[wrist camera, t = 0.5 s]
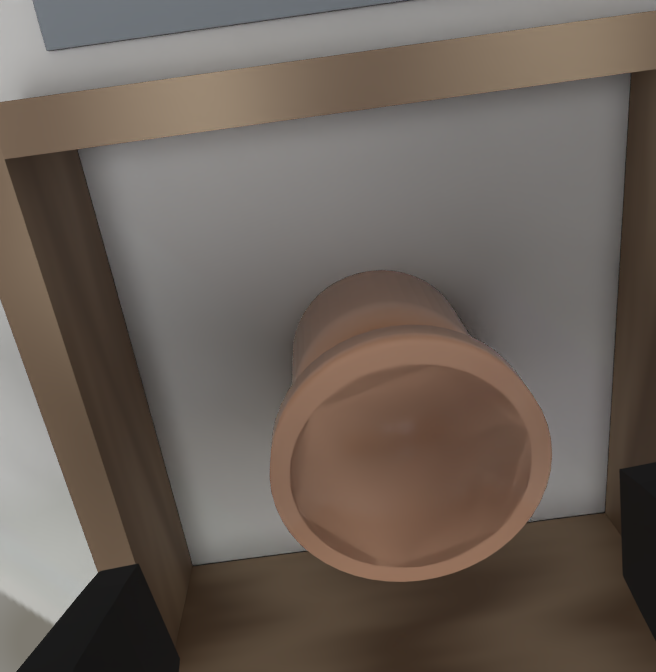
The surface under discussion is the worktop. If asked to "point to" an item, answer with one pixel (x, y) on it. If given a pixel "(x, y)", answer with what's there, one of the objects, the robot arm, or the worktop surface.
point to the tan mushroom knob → (403, 435)
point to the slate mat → (163, 17)
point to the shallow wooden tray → (304, 568)
